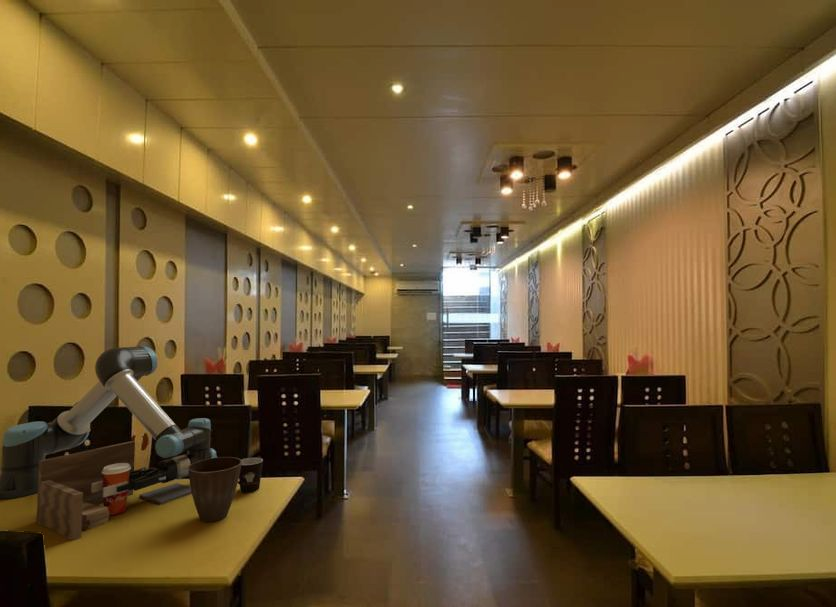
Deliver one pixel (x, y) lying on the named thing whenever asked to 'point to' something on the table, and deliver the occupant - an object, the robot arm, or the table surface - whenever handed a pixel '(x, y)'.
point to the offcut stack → (93, 515)
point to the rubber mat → (167, 493)
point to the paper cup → (111, 477)
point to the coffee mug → (250, 474)
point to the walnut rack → (75, 485)
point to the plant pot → (214, 486)
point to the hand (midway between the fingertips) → (97, 490)
